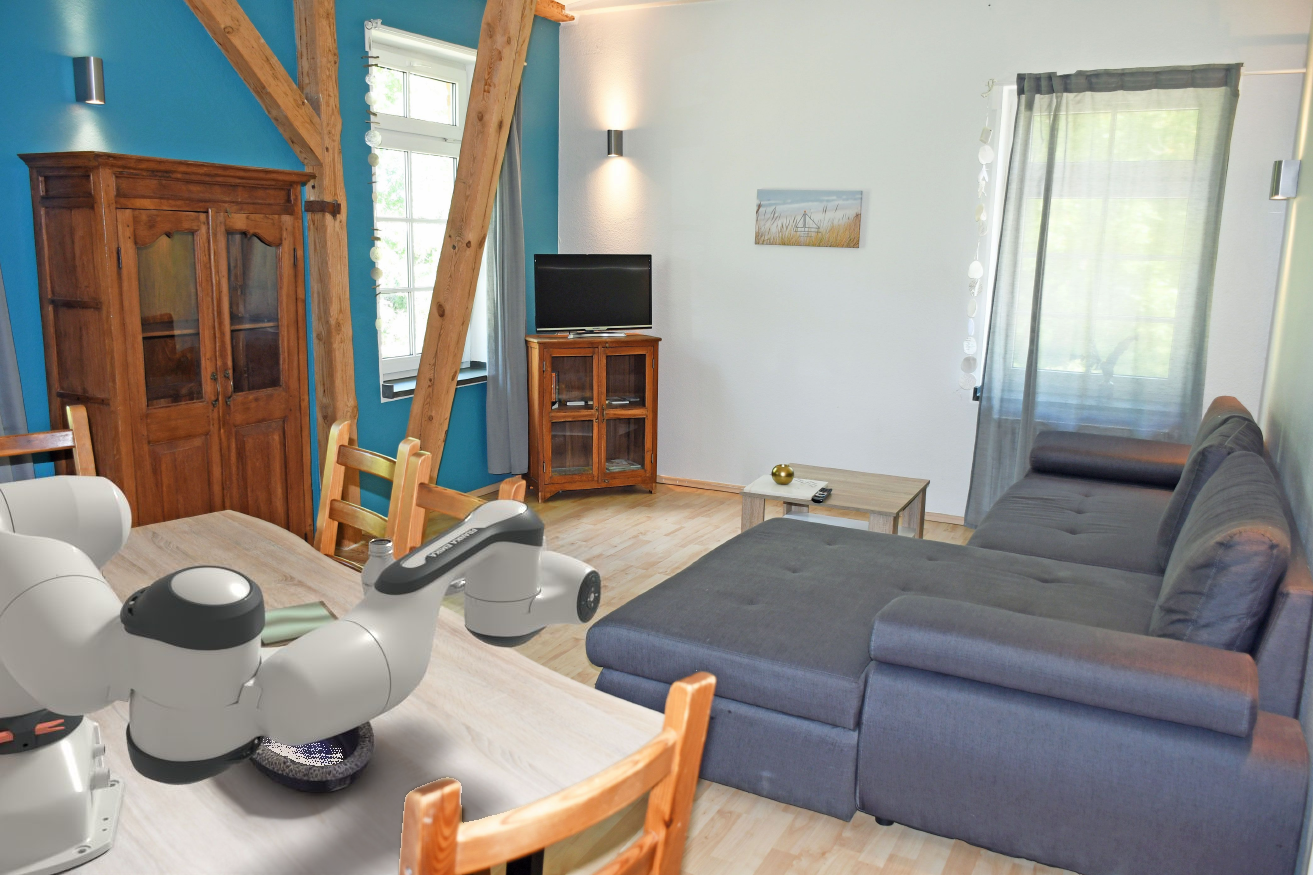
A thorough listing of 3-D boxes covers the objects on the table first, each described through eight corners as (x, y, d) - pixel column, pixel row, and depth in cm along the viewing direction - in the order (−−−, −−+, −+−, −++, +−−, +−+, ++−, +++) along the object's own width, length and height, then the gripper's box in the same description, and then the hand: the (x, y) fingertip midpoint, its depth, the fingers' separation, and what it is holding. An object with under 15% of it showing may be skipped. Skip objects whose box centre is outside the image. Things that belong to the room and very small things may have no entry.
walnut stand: (350, 648, 160) (349, 628, 159) (261, 667, 152) (259, 646, 151) (323, 616, 172) (322, 598, 172) (239, 632, 165) (238, 613, 164)
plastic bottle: (363, 672, 151) (358, 549, 147) (364, 655, 157) (359, 536, 153) (406, 668, 152) (402, 547, 148) (405, 651, 159) (401, 534, 155)
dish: (276, 823, 112) (274, 784, 111) (210, 718, 136) (207, 685, 135) (404, 781, 121) (403, 745, 120) (321, 690, 145) (319, 658, 144)
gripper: (449, 614, 128) (381, 590, 136) (552, 573, 145) (486, 554, 153) (448, 568, 127) (380, 547, 135) (552, 532, 144) (486, 515, 151)
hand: (437, 550), depth 144 cm, fingers open, 8 cm apart
